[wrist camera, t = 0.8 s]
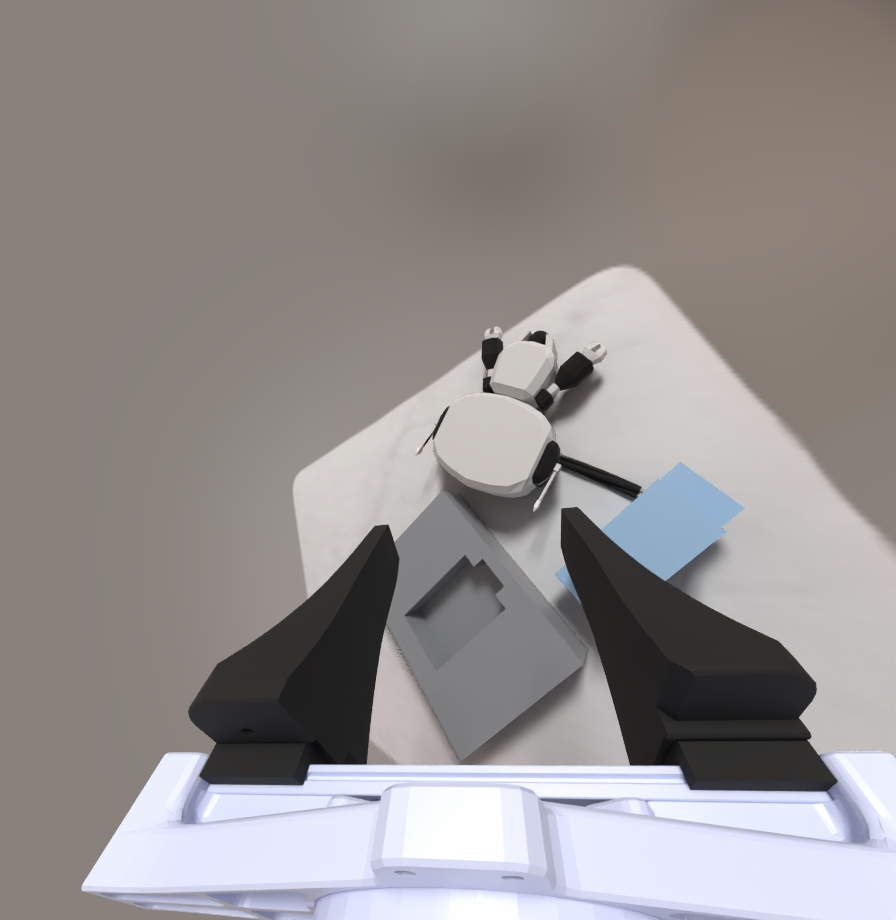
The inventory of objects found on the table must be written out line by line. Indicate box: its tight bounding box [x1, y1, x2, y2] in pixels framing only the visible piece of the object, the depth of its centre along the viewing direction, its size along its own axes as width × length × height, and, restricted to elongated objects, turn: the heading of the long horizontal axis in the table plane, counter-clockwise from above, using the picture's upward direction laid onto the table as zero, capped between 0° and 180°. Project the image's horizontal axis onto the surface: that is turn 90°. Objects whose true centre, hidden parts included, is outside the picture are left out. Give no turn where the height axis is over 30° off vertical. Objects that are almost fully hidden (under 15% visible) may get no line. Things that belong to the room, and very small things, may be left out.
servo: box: [555, 462, 744, 605], centre depth 20 cm, size 4×11×6 cm, turn 132°
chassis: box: [386, 491, 588, 761], centre depth 27 cm, size 16×12×3 cm
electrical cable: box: [559, 453, 645, 498], centre depth 26 cm, size 12×1×1 cm, turn 59°
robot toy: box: [416, 327, 607, 512], centre depth 28 cm, size 12×4×15 cm
